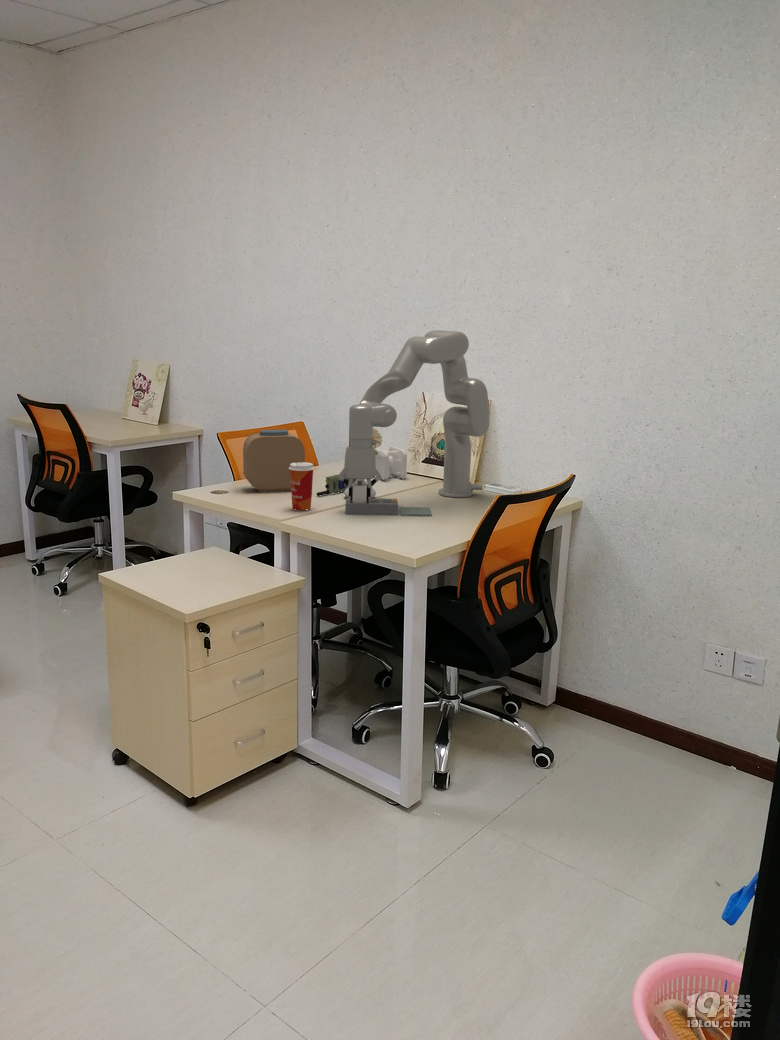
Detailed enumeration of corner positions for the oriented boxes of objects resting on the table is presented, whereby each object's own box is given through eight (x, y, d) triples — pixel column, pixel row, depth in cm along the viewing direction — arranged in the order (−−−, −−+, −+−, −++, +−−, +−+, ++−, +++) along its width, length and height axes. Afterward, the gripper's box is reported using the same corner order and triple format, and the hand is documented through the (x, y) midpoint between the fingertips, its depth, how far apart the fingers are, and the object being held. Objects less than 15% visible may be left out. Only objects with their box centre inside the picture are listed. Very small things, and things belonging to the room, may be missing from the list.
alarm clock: (299, 485, 309) (299, 427, 304) (304, 491, 300) (304, 431, 295) (243, 488, 302) (242, 429, 297) (247, 493, 294) (246, 432, 288)
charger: (366, 509, 275) (366, 479, 272) (366, 513, 270) (366, 482, 268) (352, 509, 275) (352, 479, 272) (352, 513, 270) (352, 482, 268)
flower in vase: (345, 501, 285) (346, 429, 279) (342, 494, 296) (343, 424, 290) (383, 501, 287) (384, 429, 281) (378, 494, 298) (379, 424, 292)
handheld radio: (366, 487, 310) (321, 498, 290) (359, 486, 312) (314, 497, 292) (366, 470, 308) (320, 479, 289) (359, 469, 310) (313, 478, 291)
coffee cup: (285, 506, 276) (285, 462, 272) (309, 505, 279) (309, 461, 275) (293, 512, 268) (293, 467, 265) (317, 511, 272) (317, 465, 268)
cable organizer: (407, 480, 324) (408, 451, 321) (382, 482, 319) (383, 452, 316) (391, 473, 337) (392, 445, 334) (367, 475, 333) (368, 446, 330)
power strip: (396, 509, 277) (397, 496, 276) (397, 515, 269) (398, 502, 268) (345, 508, 276) (345, 495, 275) (345, 514, 268) (345, 501, 267)
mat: (429, 509, 278) (429, 507, 278) (431, 516, 269) (432, 514, 268) (399, 508, 278) (399, 506, 278) (401, 515, 268) (401, 514, 268)
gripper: (386, 442, 271) (385, 496, 275) (334, 441, 270) (334, 496, 275) (387, 446, 264) (385, 502, 268) (333, 444, 263) (333, 501, 267)
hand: (359, 498), depth 271 cm, fingers closed on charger, 4 cm apart
